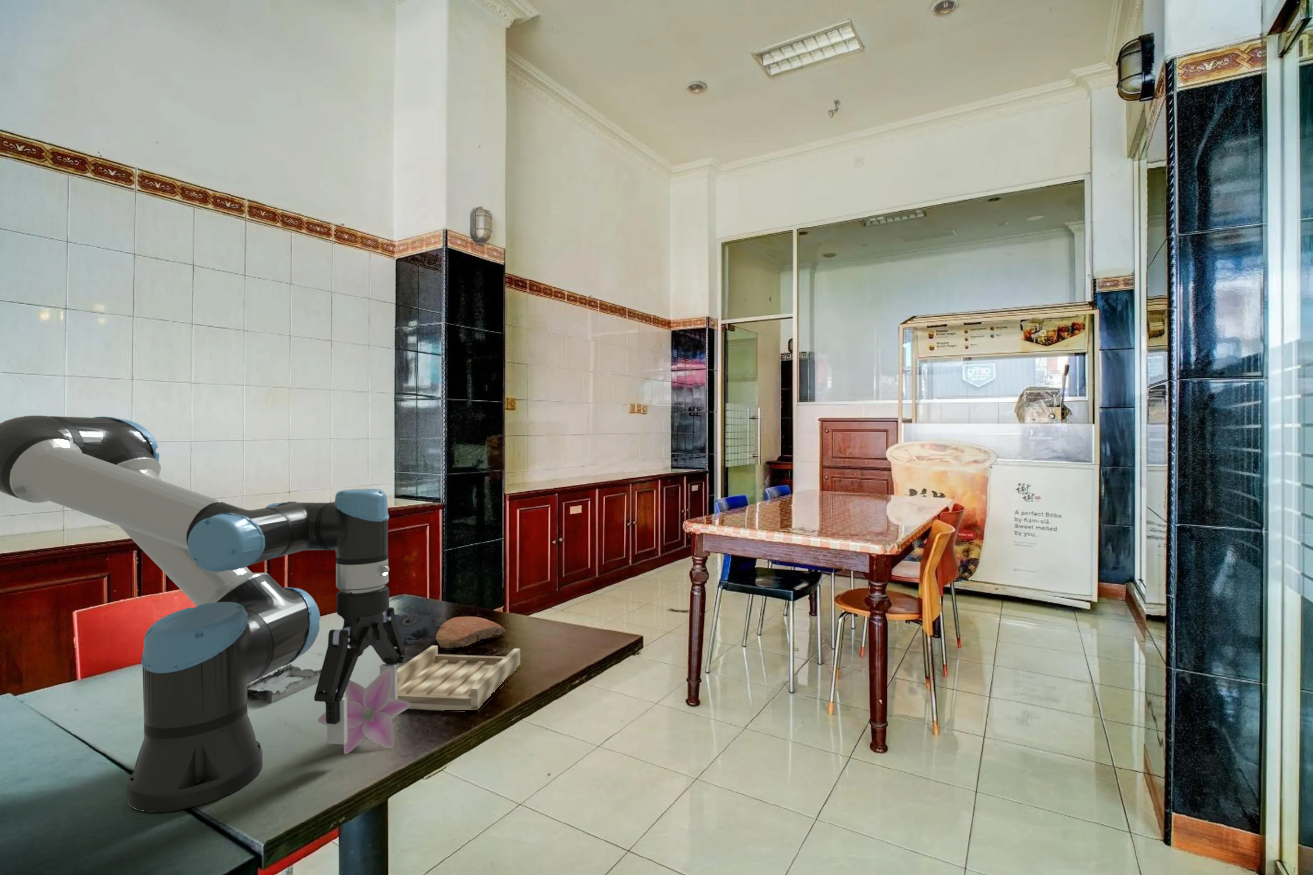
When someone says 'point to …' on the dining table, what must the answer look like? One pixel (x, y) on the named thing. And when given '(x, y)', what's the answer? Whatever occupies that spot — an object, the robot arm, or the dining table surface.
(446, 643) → the ceramic shard
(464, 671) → the drying rack
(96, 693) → the dining table surface
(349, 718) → the lily
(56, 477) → the robot arm
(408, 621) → the dark block with eyelet
